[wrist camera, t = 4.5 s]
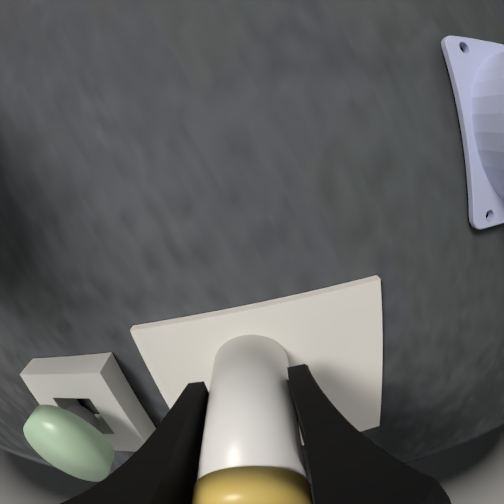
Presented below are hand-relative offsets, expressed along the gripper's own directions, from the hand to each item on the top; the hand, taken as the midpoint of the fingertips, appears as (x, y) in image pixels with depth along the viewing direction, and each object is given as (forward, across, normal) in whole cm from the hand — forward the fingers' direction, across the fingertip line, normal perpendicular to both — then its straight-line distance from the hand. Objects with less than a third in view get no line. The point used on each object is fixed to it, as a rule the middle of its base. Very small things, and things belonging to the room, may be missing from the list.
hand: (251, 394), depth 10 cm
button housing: (+2, +9, +2) cm, 9 cm away
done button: (+1, +9, +2) cm, 9 cm away
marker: (+2, 0, 0) cm, 2 cm away
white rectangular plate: (+2, -1, +2) cm, 3 cm away
